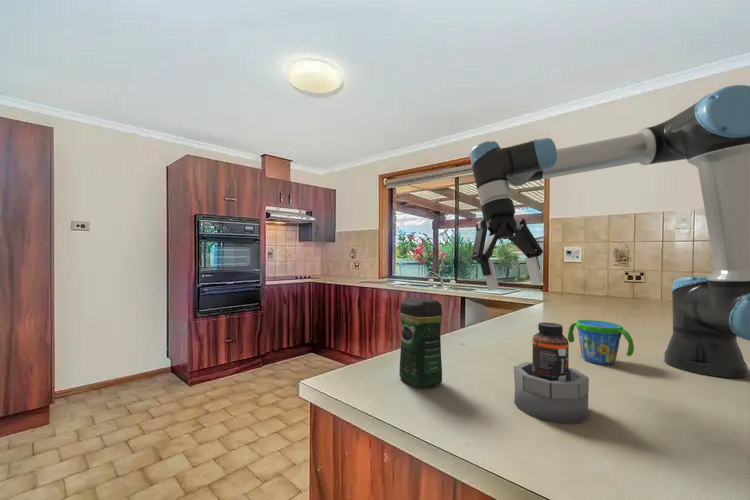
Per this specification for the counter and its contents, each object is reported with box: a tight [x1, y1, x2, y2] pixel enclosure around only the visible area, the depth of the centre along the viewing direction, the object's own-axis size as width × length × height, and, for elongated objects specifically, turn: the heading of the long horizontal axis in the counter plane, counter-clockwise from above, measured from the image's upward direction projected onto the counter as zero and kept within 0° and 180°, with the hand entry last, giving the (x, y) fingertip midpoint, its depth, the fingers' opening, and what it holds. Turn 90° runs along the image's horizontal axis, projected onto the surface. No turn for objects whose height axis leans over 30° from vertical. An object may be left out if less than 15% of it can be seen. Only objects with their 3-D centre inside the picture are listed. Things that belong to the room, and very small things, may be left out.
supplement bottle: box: [531, 322, 570, 381], centre depth 62 cm, size 6×6×11 cm
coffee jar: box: [398, 296, 444, 389], centre depth 74 cm, size 10×8×19 cm
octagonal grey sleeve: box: [513, 361, 590, 425], centre depth 62 cm, size 12×12×6 cm
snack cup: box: [567, 319, 635, 366], centre depth 90 cm, size 16×10×10 cm
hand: (516, 286), depth 79 cm, fingers open, 13 cm apart
